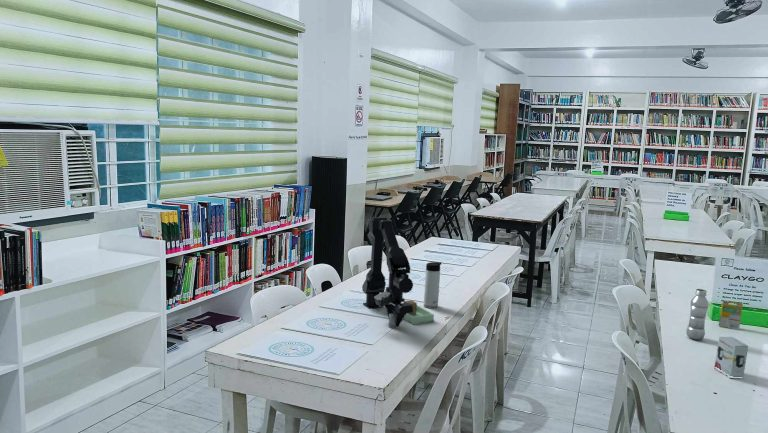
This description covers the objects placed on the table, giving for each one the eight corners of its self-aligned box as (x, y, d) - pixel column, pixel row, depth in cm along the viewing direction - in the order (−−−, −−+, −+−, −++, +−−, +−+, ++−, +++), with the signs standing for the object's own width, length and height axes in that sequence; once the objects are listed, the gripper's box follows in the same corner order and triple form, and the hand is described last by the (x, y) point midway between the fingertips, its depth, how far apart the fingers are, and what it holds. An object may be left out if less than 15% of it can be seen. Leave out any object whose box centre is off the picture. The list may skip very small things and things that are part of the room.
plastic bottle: (702, 337, 231) (708, 289, 228) (705, 343, 225) (712, 293, 222) (684, 334, 233) (690, 286, 230) (687, 340, 227) (693, 291, 224)
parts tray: (395, 313, 242) (395, 306, 241) (415, 311, 247) (415, 304, 246) (412, 324, 230) (412, 317, 229) (433, 321, 235) (433, 314, 234)
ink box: (713, 368, 201) (718, 335, 199) (726, 368, 201) (731, 336, 199) (730, 379, 192) (735, 345, 190) (743, 379, 193) (749, 345, 191)
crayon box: (738, 328, 245) (742, 301, 243) (739, 330, 242) (743, 303, 240) (718, 324, 248) (722, 298, 246) (719, 326, 245) (723, 300, 243)
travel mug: (437, 309, 250) (440, 264, 247) (422, 307, 252) (425, 263, 248) (439, 305, 256) (442, 261, 253) (424, 303, 258) (427, 260, 254)
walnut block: (402, 312, 242) (403, 301, 241) (411, 311, 244) (411, 300, 243) (407, 315, 238) (408, 304, 238) (416, 314, 240) (416, 302, 240)
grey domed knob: (385, 325, 228) (386, 313, 227) (395, 323, 230) (396, 311, 229) (391, 329, 224) (392, 316, 223) (401, 327, 226) (402, 315, 225)
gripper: (366, 281, 228) (365, 318, 231) (389, 294, 212) (387, 334, 215) (391, 278, 234) (389, 315, 236) (415, 291, 218) (412, 330, 220)
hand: (393, 323), depth 227 cm, fingers open, 5 cm apart
